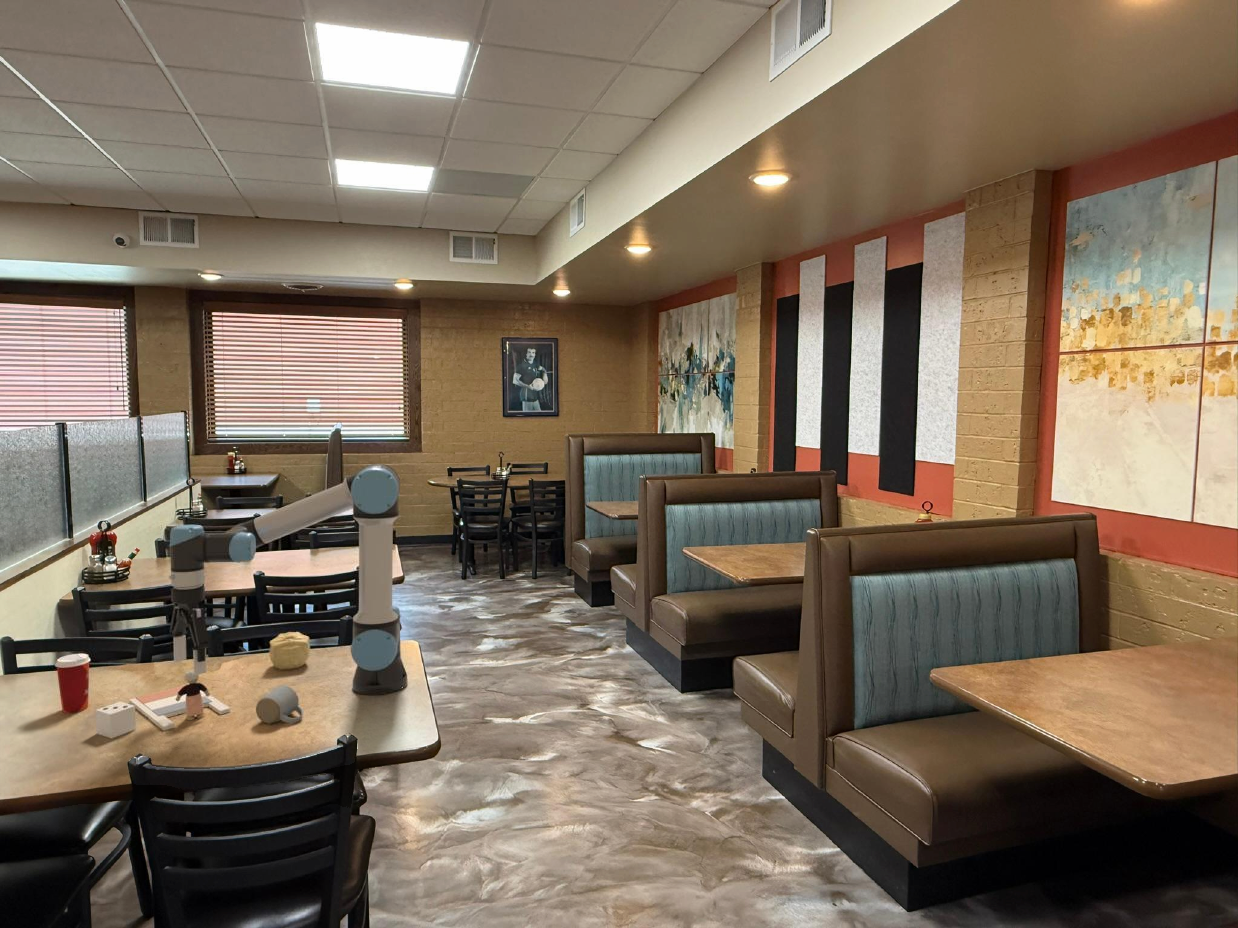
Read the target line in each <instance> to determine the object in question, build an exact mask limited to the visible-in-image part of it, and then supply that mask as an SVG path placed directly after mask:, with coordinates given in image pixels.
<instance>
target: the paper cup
mask: <svg viewBox="0 0 1238 928" xmlns="http://www.w3.org/2000/svg"><path fill="white" fill-rule="evenodd" d="M90 662H91V658H90V657H89V654H87V653H72V654H67V655H64V656H61V657H59V658H58V659H57V660H56V663H55V665H54V666H55V667H56V670H57V671H56V672H57V678H58V680H57V681H58V686H59V695H60V701H61V703H60V704H61V708H62V712H63V713H64V714H74V712H75V713H79V712H78V711H80V712H82V710H83V711H84V710H87V709H88V707H89V697H90V695H89V691H90V689H89V685H90V684H89V683H90V680H89V679H90Z"/></svg>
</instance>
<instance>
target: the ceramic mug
mask: <svg viewBox="0 0 1238 928" xmlns="http://www.w3.org/2000/svg"><path fill="white" fill-rule="evenodd" d="M294 712H296V713H297V714H298V715H299V716H297V717H288V716H289V715H291V714H292V713H294ZM255 713H256V715H257V718H258V719H259V720H260V721H261V722H263V723H265V724H267V725H268V724H269V725H270V724H274V723H277V722H279V721H283V722H284V723H288V724H295V723H299V722H300V721H301V720H302V718H303V715H304V712H303V709H302V708H301V707H300V706H299V696H298V694H297V692H296V691H295V690H294V689H293V688H292V687H291V686H289V685H284V684H283V685H282V684H281V685H278V686H276V687H275V688H273V689H272V690H271V691H269V692H268V693H267V694H265V695H264V696H263V697H261V698H260V699H259V700H258V702H257V704H256V706H255Z"/></svg>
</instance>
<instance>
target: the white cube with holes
mask: <svg viewBox="0 0 1238 928" xmlns="http://www.w3.org/2000/svg"><path fill="white" fill-rule="evenodd" d="M136 719H137V717H136V708H135V706H134V705H131V704H130V703H127V702H123V701H118V702H115V703H112V704H110V705H107V706H103V707H101V708H98V709H95V722H96V724H95V726H96V734H97V735H100V736H103V737H105V738H109V739H114V738H117V737H119V736H123V735H124V734H127V733H130V732H133V731H135V730H137V720H136Z"/></svg>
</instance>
